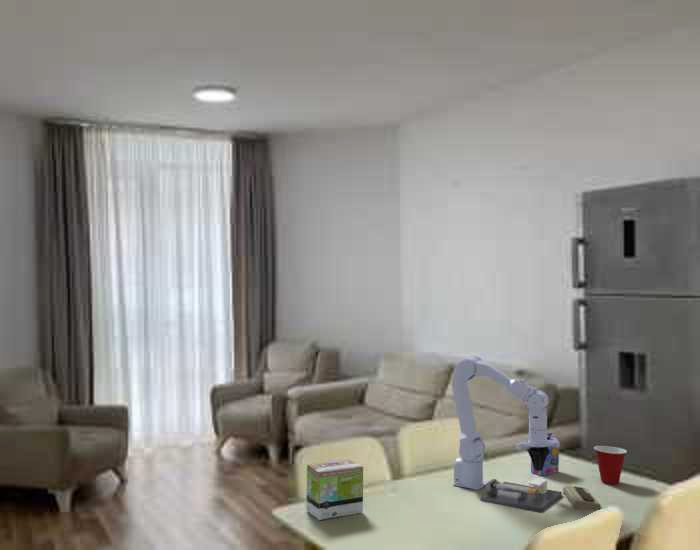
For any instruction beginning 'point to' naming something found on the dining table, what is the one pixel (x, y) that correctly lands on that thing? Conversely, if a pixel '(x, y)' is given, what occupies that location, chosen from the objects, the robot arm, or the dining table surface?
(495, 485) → the grey flat bar
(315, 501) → the tea box
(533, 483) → the block
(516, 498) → the base
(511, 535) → the dining table surface
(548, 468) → the ink cartridge box
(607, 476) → the plastic cup
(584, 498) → the computer
